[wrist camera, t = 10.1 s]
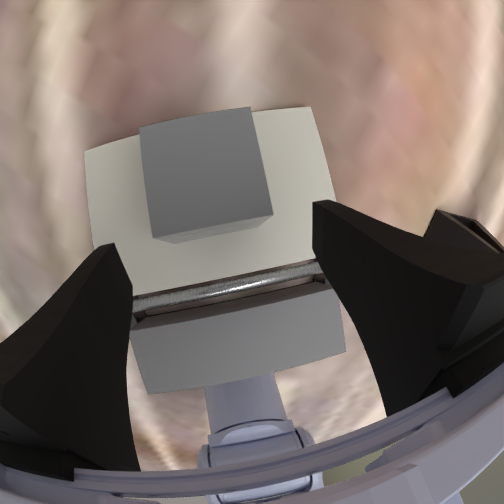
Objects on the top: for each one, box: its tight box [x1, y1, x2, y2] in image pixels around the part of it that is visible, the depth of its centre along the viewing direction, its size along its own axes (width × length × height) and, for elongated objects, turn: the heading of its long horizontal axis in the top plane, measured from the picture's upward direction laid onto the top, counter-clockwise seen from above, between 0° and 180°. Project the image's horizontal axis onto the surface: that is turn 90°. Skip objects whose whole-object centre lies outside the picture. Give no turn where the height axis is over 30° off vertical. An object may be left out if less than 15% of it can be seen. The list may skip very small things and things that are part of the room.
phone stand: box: [424, 210, 504, 253], centre depth 22 cm, size 9×6×12 cm, turn 78°
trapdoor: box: [84, 107, 346, 394], centre depth 17 cm, size 15×14×4 cm
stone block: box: [139, 107, 274, 244], centre depth 13 cm, size 4×4×5 cm
